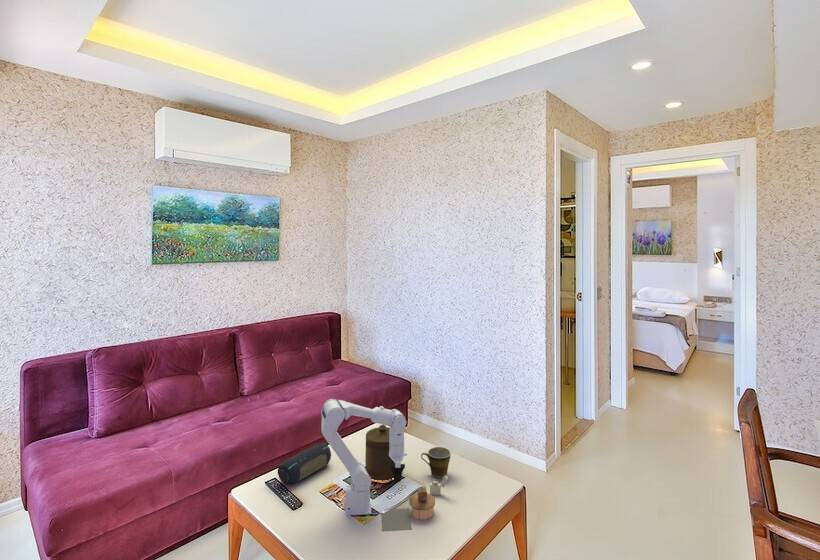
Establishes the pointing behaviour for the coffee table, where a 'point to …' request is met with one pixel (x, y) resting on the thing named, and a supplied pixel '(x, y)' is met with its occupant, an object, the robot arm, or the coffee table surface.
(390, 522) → the mat
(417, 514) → the bowl
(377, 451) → the wooden container
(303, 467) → the portable speaker
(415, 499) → the lid
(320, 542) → the coffee table surface
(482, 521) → the coffee table surface
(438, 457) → the ceramic cup
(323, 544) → the coffee table surface
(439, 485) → the lighter
